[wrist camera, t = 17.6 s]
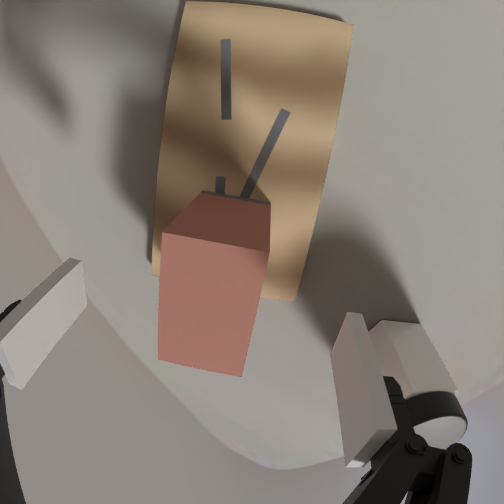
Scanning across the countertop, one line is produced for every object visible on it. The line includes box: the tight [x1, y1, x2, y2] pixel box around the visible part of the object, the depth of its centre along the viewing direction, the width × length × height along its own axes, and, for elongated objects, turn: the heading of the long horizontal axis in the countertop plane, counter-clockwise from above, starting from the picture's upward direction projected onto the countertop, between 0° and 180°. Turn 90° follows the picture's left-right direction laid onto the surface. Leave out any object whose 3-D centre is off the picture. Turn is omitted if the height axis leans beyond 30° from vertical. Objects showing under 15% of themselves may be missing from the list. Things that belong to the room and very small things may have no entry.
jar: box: [369, 320, 468, 450], centre depth 23 cm, size 9×8×12 cm
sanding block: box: [158, 190, 271, 377], centre depth 20 cm, size 8×5×9 cm, turn 170°
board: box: [152, 1, 354, 302], centre depth 22 cm, size 22×12×1 cm, turn 170°
